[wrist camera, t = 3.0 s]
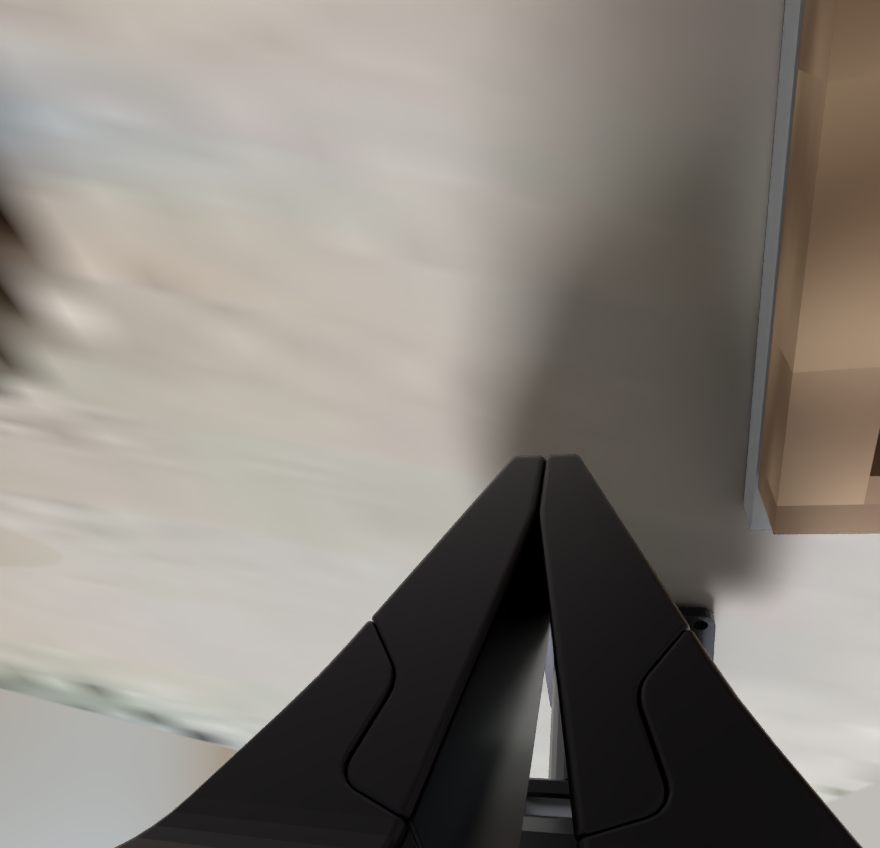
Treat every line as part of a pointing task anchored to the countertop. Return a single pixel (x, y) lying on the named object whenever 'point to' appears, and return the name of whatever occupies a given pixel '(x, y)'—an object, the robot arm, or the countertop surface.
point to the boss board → (772, 253)
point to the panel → (828, 287)
